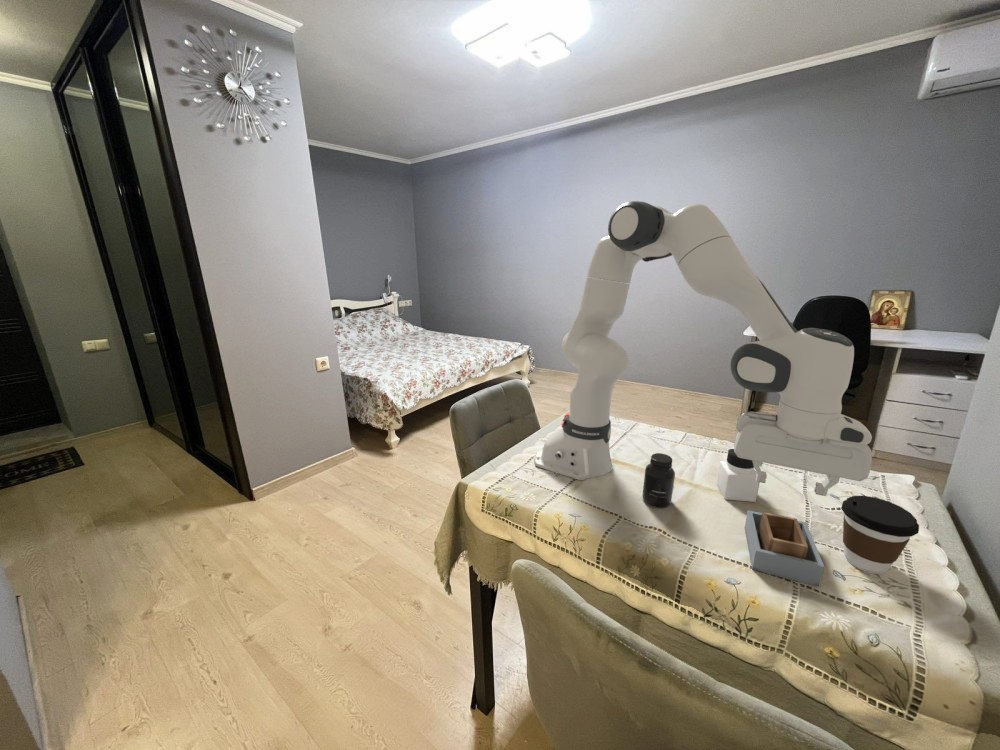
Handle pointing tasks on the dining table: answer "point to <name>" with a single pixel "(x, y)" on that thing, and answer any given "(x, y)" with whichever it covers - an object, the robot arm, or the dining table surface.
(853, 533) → the coffee cup
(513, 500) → the dining table surface
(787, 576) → the grey crate
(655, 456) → the supplement bottle
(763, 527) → the walnut crate
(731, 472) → the medicine bottle
